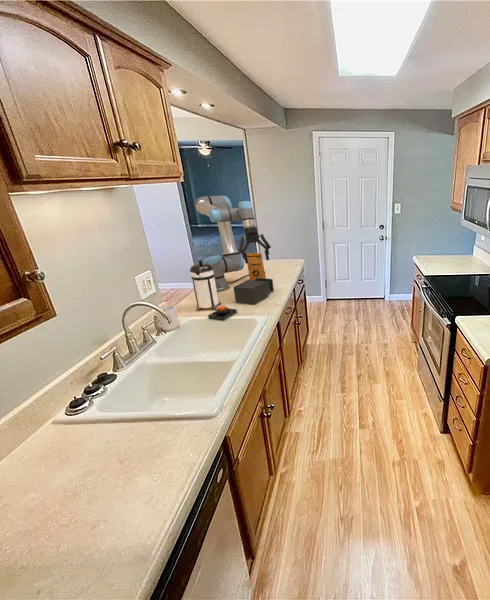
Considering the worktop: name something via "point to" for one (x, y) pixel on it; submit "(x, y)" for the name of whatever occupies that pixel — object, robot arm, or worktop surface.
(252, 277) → the coffee package
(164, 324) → the mug
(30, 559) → the worktop surface
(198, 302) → the coffee press
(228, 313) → the panel
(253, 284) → the dark grey box
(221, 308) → the button
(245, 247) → the robot arm
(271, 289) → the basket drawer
